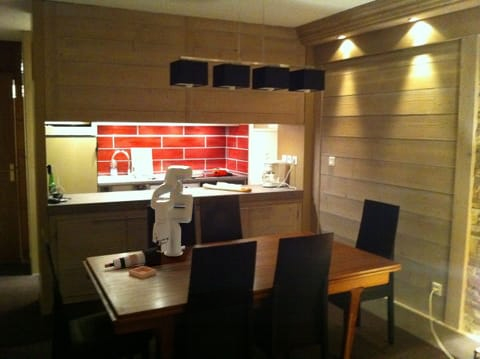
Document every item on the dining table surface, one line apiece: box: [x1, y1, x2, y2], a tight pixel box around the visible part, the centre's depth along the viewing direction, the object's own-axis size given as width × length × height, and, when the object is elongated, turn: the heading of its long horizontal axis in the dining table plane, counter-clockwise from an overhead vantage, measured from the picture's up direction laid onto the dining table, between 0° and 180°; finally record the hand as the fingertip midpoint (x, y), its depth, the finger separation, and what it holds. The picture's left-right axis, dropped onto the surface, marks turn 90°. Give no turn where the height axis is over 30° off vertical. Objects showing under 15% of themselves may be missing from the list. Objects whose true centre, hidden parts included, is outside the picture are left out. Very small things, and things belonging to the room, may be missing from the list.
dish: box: [128, 265, 157, 280], centre depth 263 cm, size 11×11×3 cm
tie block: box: [158, 239, 167, 254], centre depth 273 cm, size 4×4×7 cm
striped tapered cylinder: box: [104, 246, 163, 270], centre depth 276 cm, size 10×34×10 cm, turn 116°
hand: (161, 249), depth 274 cm, fingers closed on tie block, 4 cm apart
